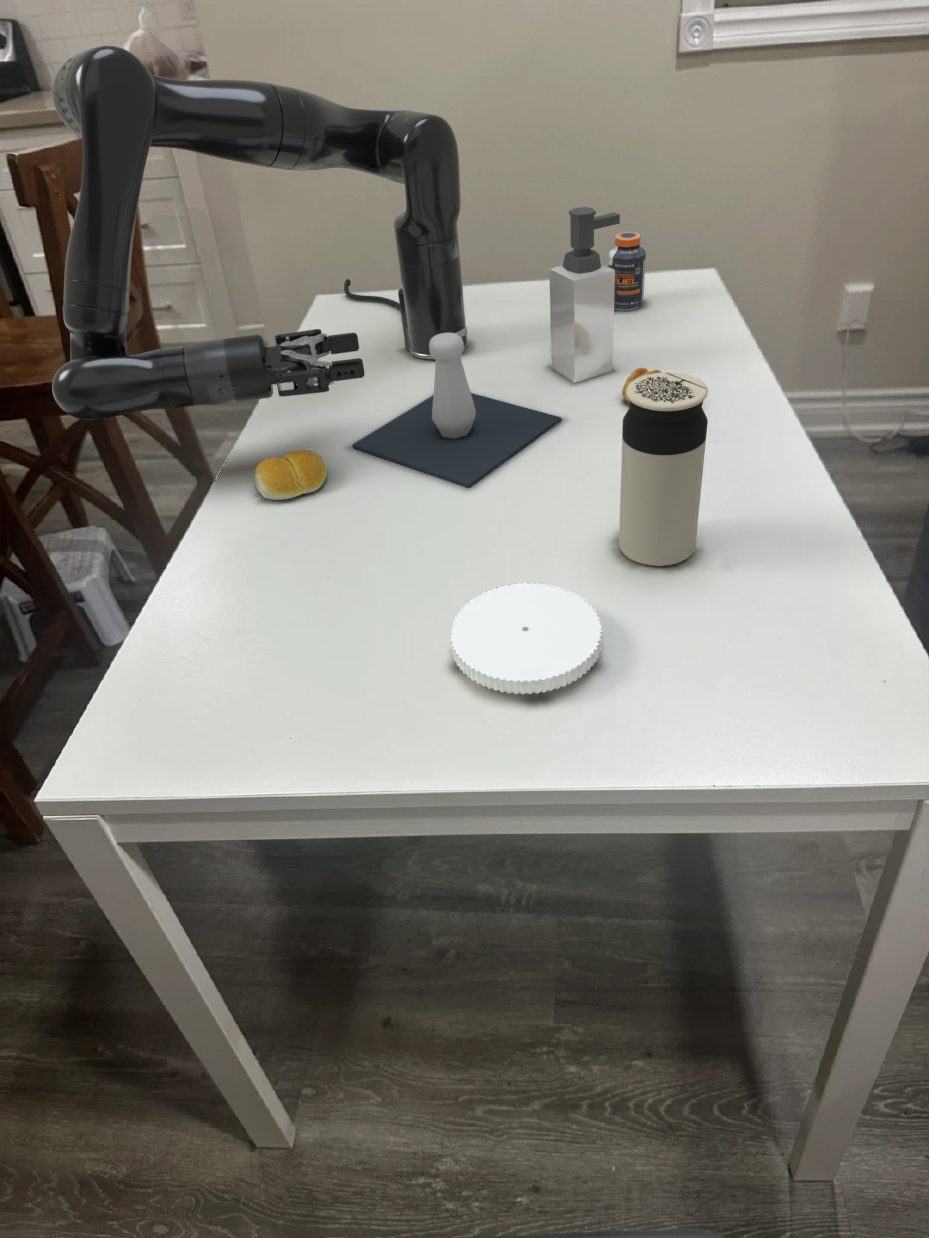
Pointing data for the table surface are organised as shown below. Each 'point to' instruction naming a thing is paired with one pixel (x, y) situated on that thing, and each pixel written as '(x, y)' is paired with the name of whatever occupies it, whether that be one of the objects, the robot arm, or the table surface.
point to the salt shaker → (451, 387)
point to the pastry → (635, 375)
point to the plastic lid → (526, 638)
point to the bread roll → (290, 475)
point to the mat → (458, 439)
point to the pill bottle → (628, 271)
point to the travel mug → (662, 467)
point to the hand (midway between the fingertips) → (360, 354)
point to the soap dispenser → (583, 302)
